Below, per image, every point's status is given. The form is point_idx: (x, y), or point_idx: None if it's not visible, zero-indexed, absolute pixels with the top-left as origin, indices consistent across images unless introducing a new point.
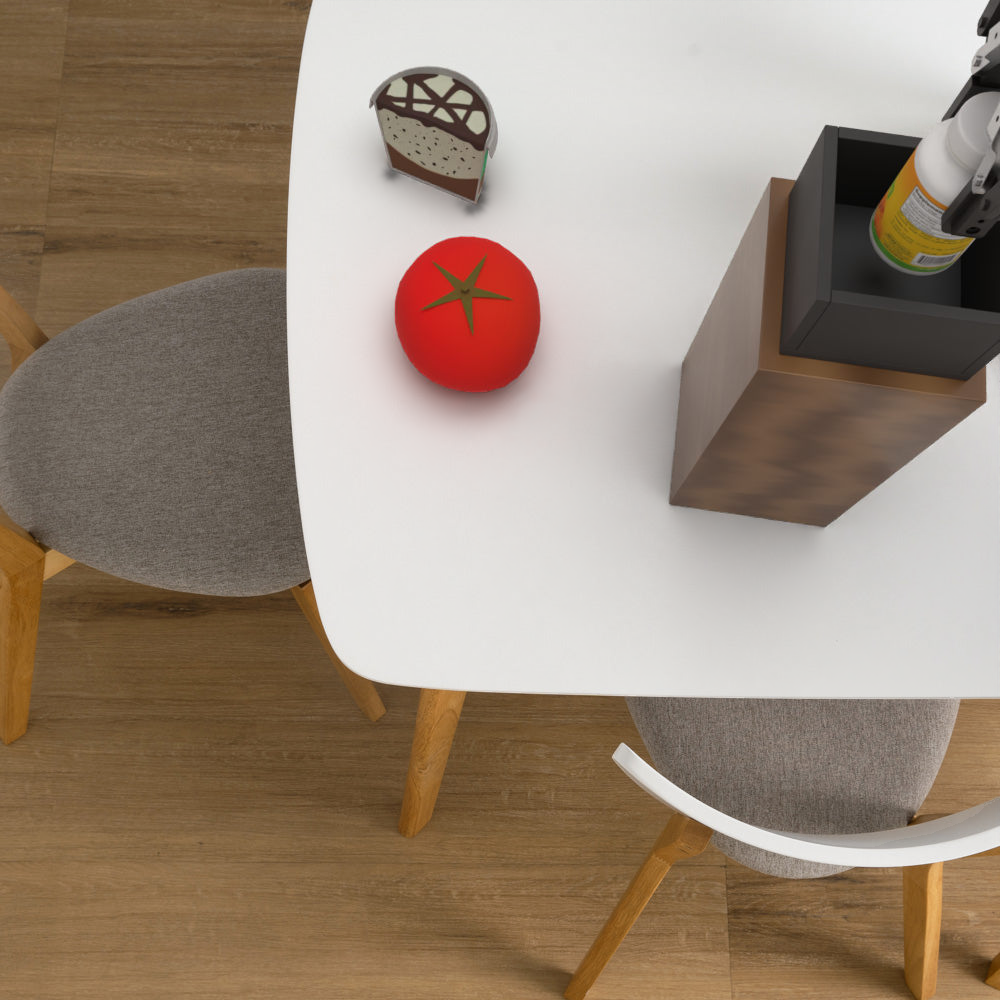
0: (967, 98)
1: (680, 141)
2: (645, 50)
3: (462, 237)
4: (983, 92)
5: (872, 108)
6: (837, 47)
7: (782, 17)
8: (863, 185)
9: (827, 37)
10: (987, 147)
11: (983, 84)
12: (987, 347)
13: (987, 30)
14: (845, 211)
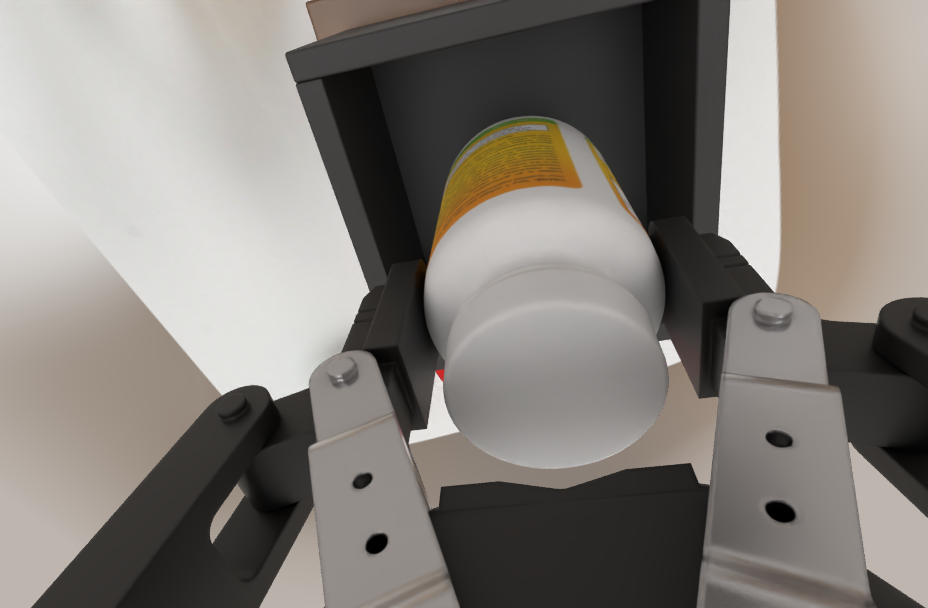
0: (429, 392)
1: (230, 217)
2: (164, 269)
3: (442, 379)
4: (419, 390)
5: (62, 35)
6: (23, 96)
7: (37, 162)
8: (408, 242)
9: (21, 110)
10: (635, 411)
11: (412, 410)
12: None
13: (312, 497)
14: (426, 225)
